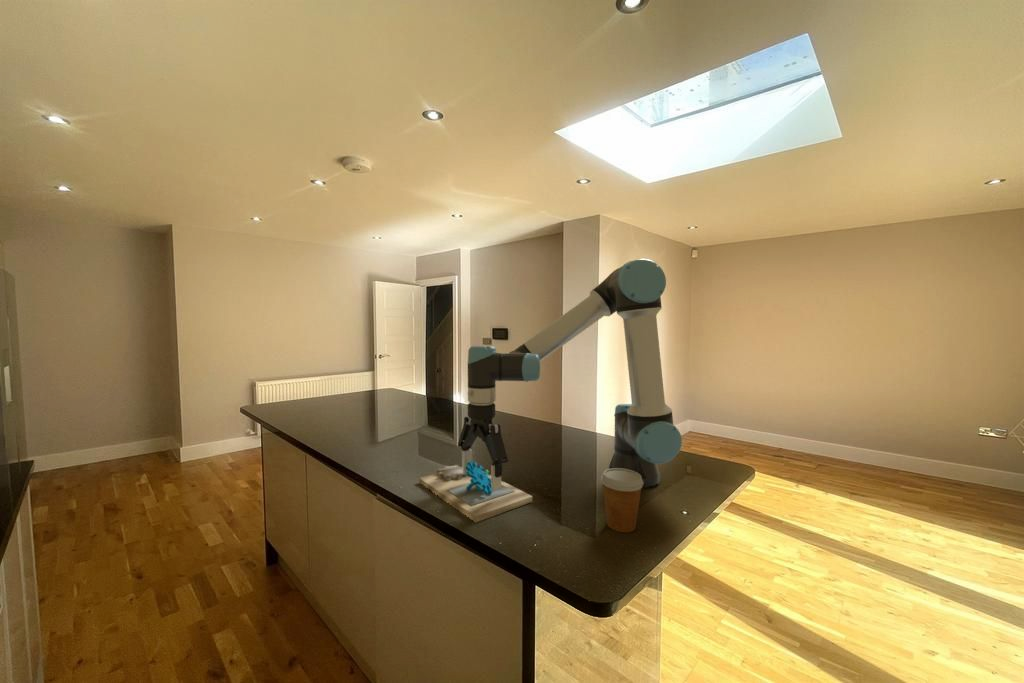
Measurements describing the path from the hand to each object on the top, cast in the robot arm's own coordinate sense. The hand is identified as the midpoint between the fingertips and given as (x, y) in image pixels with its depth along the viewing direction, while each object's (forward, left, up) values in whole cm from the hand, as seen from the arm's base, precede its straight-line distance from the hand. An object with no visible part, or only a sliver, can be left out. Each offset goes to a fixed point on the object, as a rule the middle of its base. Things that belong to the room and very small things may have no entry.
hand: (481, 480), depth 103 cm
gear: (0, 0, -3) cm, 3 cm away
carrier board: (+4, 0, -4) cm, 6 cm away
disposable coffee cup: (-33, -17, -5) cm, 37 cm away
